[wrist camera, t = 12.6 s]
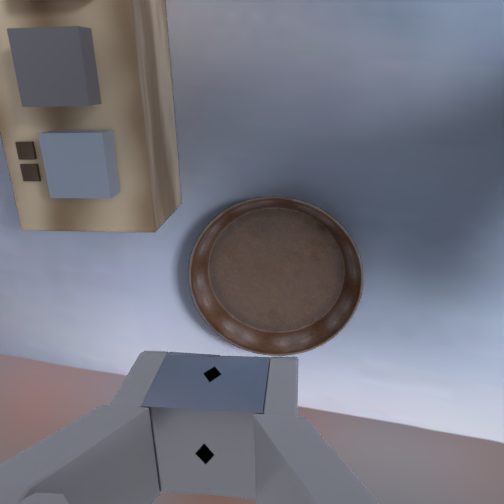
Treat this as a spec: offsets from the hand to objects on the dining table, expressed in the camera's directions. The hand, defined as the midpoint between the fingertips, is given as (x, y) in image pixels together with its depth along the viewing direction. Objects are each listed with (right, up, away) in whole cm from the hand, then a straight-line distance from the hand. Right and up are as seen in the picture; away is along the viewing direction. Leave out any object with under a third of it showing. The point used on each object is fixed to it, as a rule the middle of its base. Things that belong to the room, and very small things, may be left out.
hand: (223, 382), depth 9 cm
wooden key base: (-13, +20, +34) cm, 41 cm away
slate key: (-13, +10, +28) cm, 32 cm away
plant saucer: (+3, +1, +40) cm, 40 cm away
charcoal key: (-13, +16, +24) cm, 32 cm away
